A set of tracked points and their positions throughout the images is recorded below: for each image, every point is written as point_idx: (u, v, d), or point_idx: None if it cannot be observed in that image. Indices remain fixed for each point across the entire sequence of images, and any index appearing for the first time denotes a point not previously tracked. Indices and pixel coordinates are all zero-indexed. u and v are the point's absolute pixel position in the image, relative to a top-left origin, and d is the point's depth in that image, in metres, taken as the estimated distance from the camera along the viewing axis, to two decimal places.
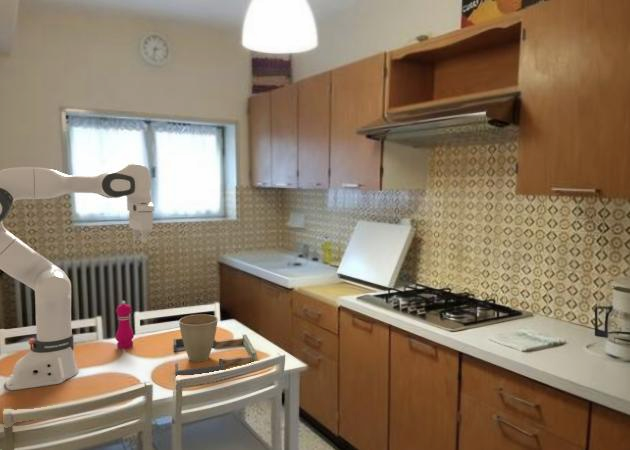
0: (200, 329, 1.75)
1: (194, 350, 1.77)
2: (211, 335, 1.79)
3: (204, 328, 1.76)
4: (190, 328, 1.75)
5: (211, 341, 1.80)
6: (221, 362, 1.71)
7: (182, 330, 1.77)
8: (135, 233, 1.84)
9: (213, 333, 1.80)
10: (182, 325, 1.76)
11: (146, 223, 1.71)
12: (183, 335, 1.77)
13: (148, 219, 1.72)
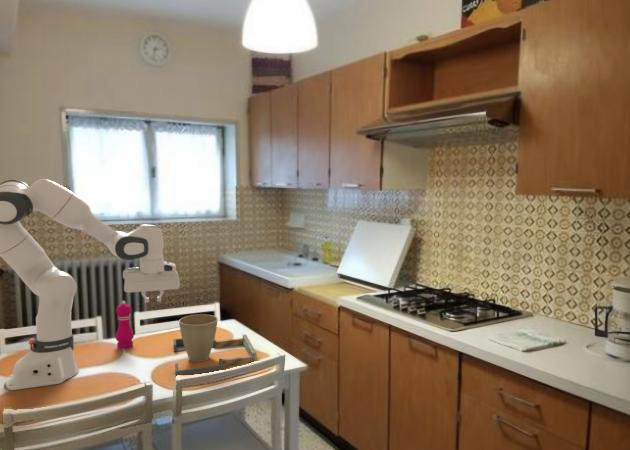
0: (200, 329, 1.75)
1: (194, 350, 1.77)
2: (211, 335, 1.79)
3: (204, 328, 1.76)
4: (190, 328, 1.75)
5: (211, 341, 1.80)
6: (221, 362, 1.71)
7: (182, 330, 1.77)
8: (145, 295, 1.75)
9: (213, 333, 1.80)
10: (182, 325, 1.76)
11: (179, 280, 1.79)
12: (183, 335, 1.77)
13: (178, 276, 1.79)
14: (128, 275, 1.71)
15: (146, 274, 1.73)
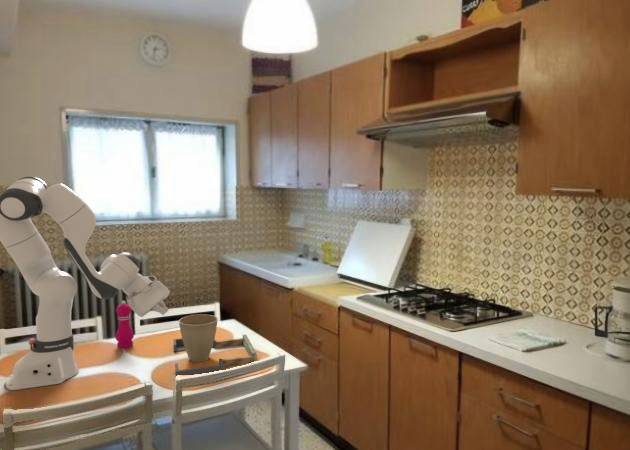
0: (200, 329, 1.75)
1: (194, 350, 1.77)
2: (211, 335, 1.79)
3: (204, 328, 1.76)
4: (190, 328, 1.75)
5: (211, 341, 1.80)
6: (221, 362, 1.71)
7: (182, 330, 1.77)
8: None
9: (213, 333, 1.80)
10: (182, 325, 1.76)
11: None
12: (183, 335, 1.77)
13: None
14: (135, 298, 1.67)
15: (144, 290, 1.73)
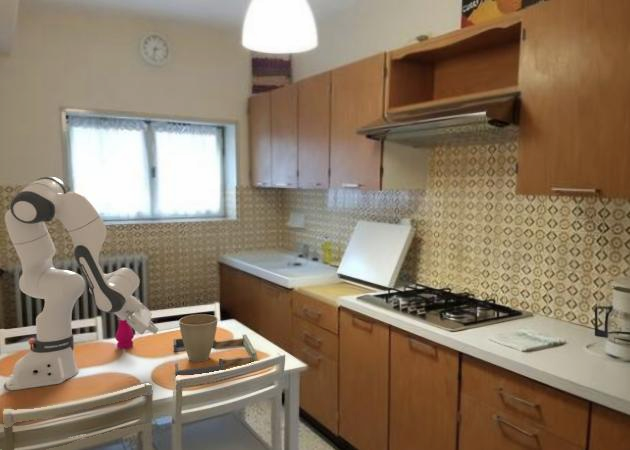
0: (200, 329, 1.75)
1: (194, 350, 1.77)
2: (211, 335, 1.79)
3: (204, 328, 1.76)
4: (190, 328, 1.75)
5: (211, 341, 1.80)
6: (221, 362, 1.71)
7: (182, 330, 1.77)
8: None
9: (213, 333, 1.80)
10: (182, 325, 1.76)
11: None
12: (183, 335, 1.77)
13: None
14: (134, 315, 1.65)
15: (137, 309, 1.71)
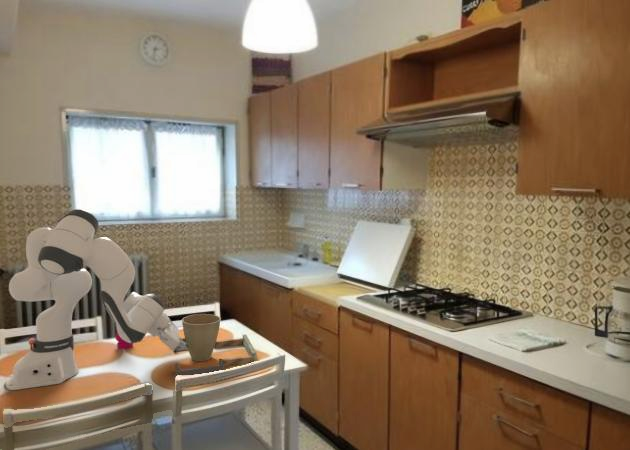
0: (202, 329, 1.76)
1: (196, 349, 1.78)
2: (213, 335, 1.79)
3: (207, 327, 1.76)
4: (193, 327, 1.75)
5: (213, 341, 1.80)
6: (221, 362, 1.71)
7: (185, 329, 1.78)
8: None
9: (215, 333, 1.80)
10: (185, 324, 1.77)
11: None
12: (186, 334, 1.78)
13: None
14: (167, 332, 1.70)
15: (167, 325, 1.76)
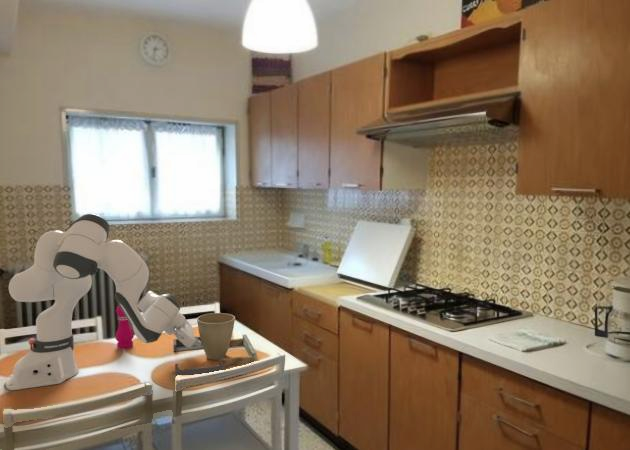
0: (216, 327, 1.77)
1: (210, 348, 1.79)
2: (227, 334, 1.81)
3: (220, 326, 1.78)
4: (207, 326, 1.77)
5: (228, 340, 1.82)
6: (221, 362, 1.71)
7: (199, 328, 1.80)
8: None
9: (230, 332, 1.82)
10: (199, 323, 1.79)
11: None
12: (200, 333, 1.80)
13: None
14: (183, 330, 1.72)
15: (183, 324, 1.78)
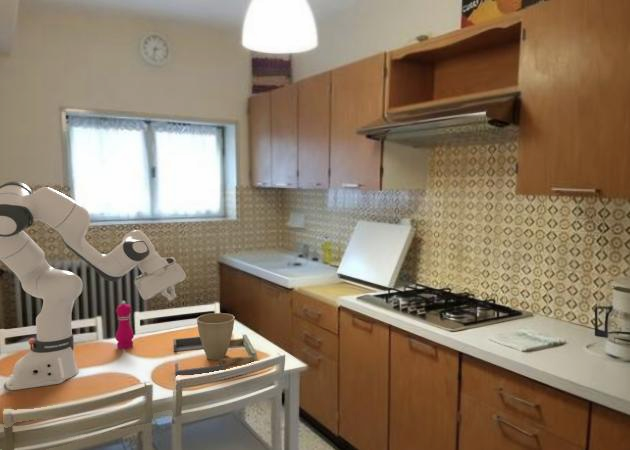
0: (216, 328, 1.77)
1: (210, 348, 1.79)
2: (227, 334, 1.81)
3: (220, 326, 1.77)
4: (206, 326, 1.77)
5: (227, 340, 1.82)
6: (221, 362, 1.71)
7: (199, 328, 1.80)
8: None
9: (229, 332, 1.82)
10: (199, 323, 1.79)
11: None
12: (200, 333, 1.80)
13: None
14: (142, 280, 1.68)
15: (156, 273, 1.73)
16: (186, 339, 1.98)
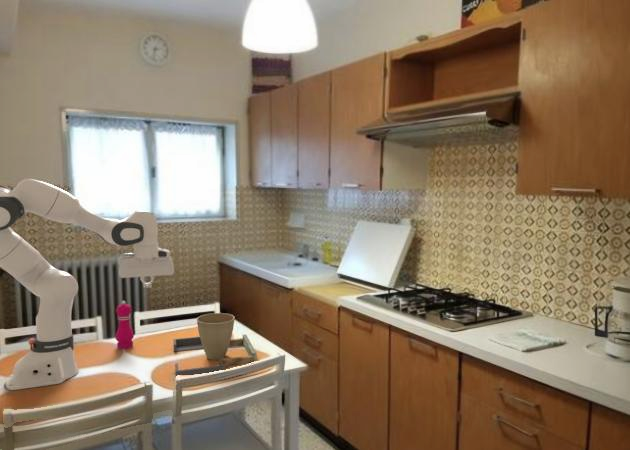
0: (216, 328, 1.77)
1: (210, 348, 1.79)
2: (227, 334, 1.81)
3: (220, 326, 1.78)
4: (206, 326, 1.77)
5: (227, 340, 1.82)
6: (221, 362, 1.71)
7: (199, 328, 1.80)
8: (143, 281, 1.78)
9: (229, 332, 1.82)
10: (199, 323, 1.79)
11: (173, 266, 1.81)
12: (200, 333, 1.80)
13: None
14: (123, 261, 1.74)
15: (140, 260, 1.75)
16: (186, 339, 1.98)
